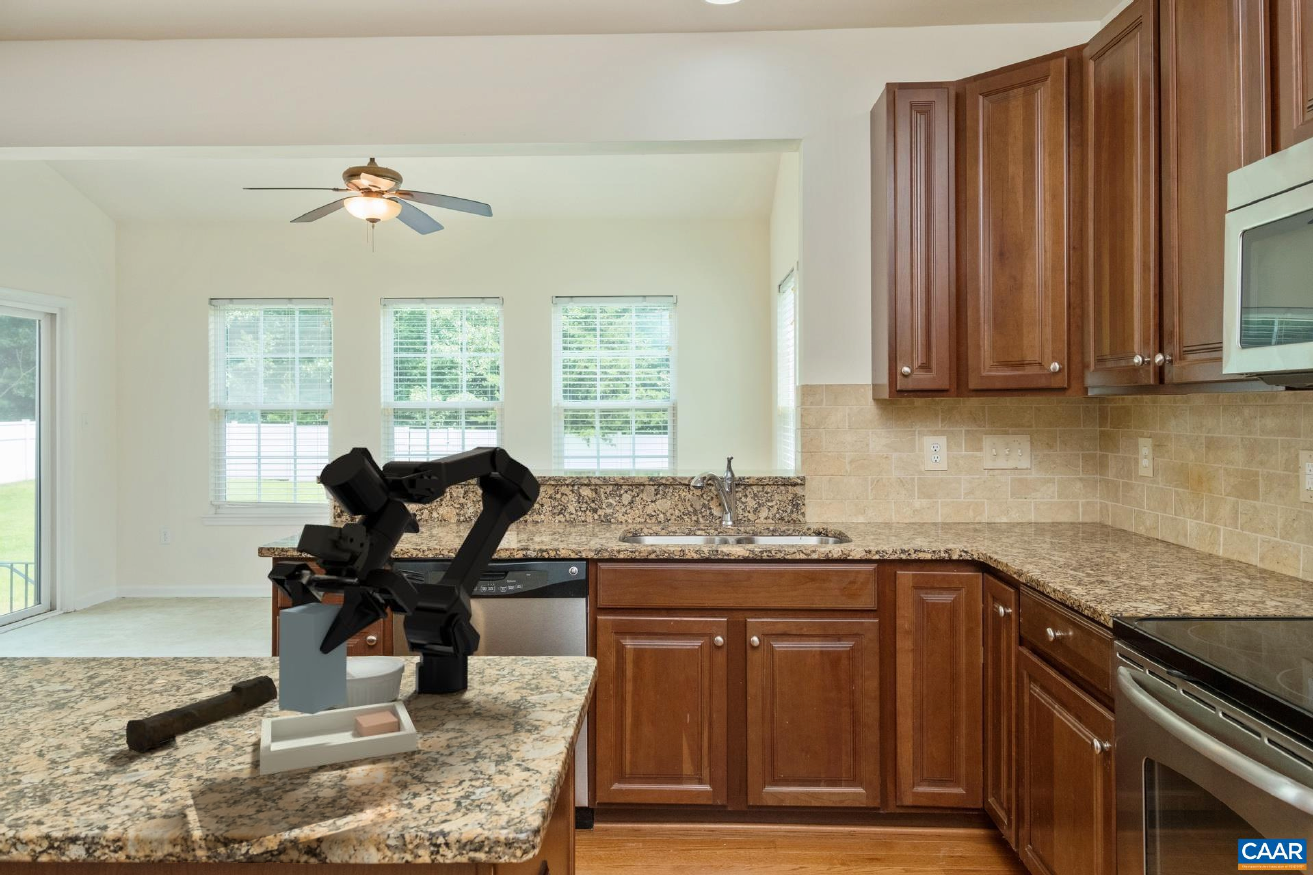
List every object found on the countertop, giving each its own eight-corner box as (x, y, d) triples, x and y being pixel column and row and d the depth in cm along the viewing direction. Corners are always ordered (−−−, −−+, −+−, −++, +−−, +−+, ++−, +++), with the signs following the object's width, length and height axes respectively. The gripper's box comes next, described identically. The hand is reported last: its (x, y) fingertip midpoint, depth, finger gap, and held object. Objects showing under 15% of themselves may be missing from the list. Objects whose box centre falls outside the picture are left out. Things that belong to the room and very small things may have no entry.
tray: (401, 724, 101) (401, 700, 101) (416, 758, 90) (416, 732, 90) (261, 744, 94) (262, 719, 94) (259, 784, 83) (259, 755, 83)
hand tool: (142, 757, 90) (142, 717, 90) (123, 751, 92) (123, 711, 92) (289, 709, 107) (289, 675, 107) (270, 704, 109) (270, 670, 109)
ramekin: (298, 712, 105) (298, 672, 105) (358, 688, 116) (358, 652, 116) (364, 723, 101) (364, 682, 101) (420, 697, 112) (420, 660, 112)
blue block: (313, 695, 93) (313, 602, 93) (346, 700, 92) (347, 605, 92) (278, 708, 89) (279, 610, 89) (313, 714, 87) (313, 614, 87)
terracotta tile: (388, 722, 98) (388, 710, 98) (398, 732, 95) (398, 720, 95) (354, 729, 96) (355, 717, 96) (364, 739, 93) (364, 726, 93)
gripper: (280, 495, 97) (199, 602, 87) (403, 500, 90) (330, 617, 80) (328, 550, 105) (258, 655, 94) (445, 559, 98) (384, 673, 88)
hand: (304, 649), depth 89 cm, fingers closed on blue block, 5 cm apart
